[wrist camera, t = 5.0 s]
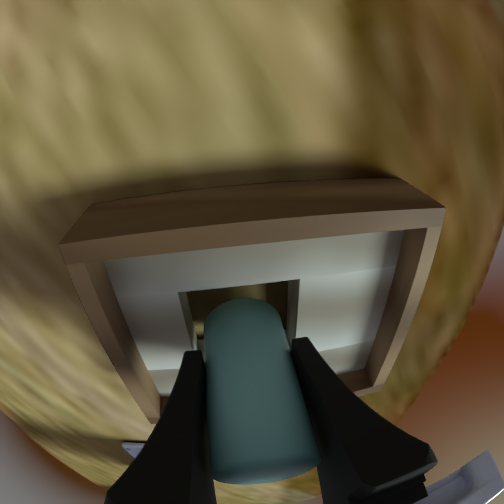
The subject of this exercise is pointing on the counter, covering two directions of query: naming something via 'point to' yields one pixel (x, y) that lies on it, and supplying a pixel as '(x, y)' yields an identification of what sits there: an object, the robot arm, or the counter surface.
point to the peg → (254, 397)
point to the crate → (256, 271)
